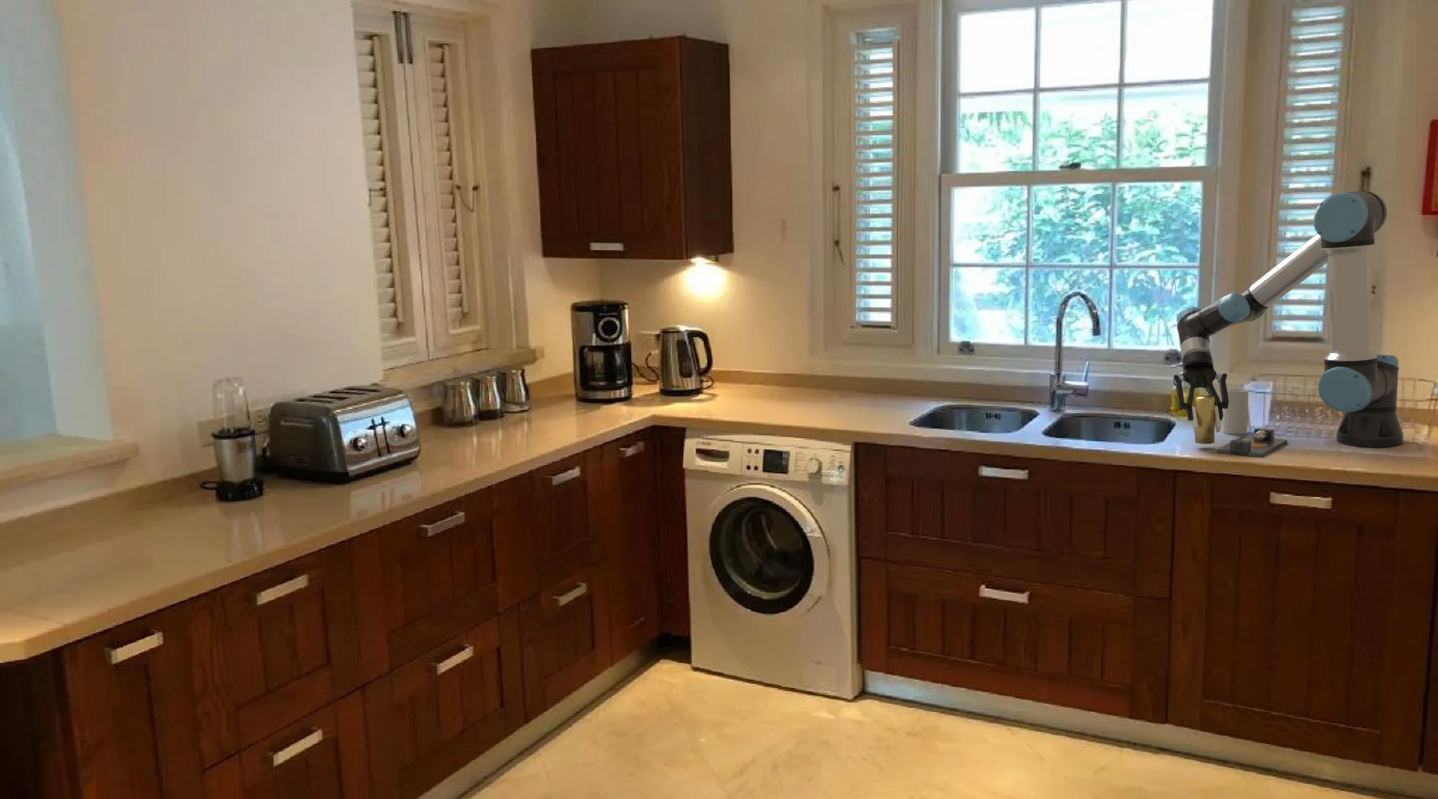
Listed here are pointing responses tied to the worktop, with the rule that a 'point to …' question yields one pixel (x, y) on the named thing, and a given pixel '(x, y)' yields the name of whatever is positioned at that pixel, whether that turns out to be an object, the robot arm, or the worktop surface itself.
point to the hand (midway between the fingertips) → (1207, 429)
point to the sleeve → (1205, 419)
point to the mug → (1236, 412)
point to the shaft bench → (1254, 444)
